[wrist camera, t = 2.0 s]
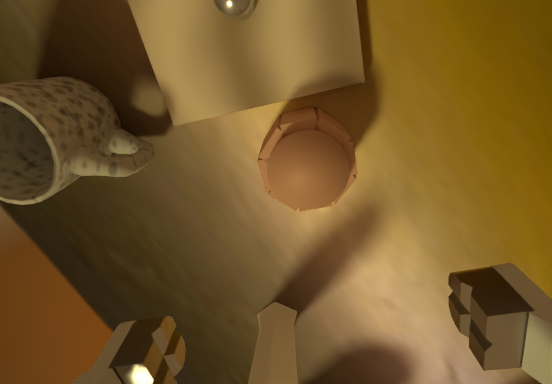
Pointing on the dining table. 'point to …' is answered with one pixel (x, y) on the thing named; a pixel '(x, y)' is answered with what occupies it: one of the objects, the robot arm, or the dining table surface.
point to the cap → (307, 159)
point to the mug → (60, 138)
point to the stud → (236, 8)
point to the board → (247, 53)
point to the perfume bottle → (275, 347)
